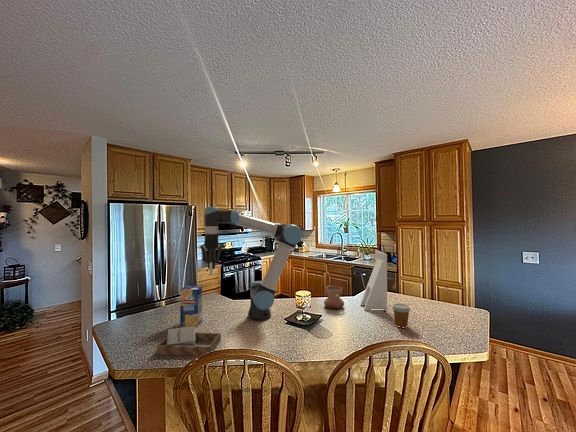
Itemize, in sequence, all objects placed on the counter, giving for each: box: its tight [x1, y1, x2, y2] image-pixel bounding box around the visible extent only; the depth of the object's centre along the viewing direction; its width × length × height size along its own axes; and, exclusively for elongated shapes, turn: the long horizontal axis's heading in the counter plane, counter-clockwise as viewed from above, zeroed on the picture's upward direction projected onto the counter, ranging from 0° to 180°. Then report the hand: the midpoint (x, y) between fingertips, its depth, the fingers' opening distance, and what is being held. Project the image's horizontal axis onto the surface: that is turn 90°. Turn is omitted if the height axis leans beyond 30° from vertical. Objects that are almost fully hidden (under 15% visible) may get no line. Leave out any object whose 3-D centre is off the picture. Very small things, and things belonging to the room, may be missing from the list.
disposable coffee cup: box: [392, 303, 411, 327], centre depth 151 cm, size 10×10×12 cm
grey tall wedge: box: [359, 249, 388, 312], centre depth 183 cm, size 20×14×40 cm
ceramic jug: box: [323, 285, 345, 310], centre depth 185 cm, size 18×14×14 cm
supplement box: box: [167, 326, 196, 346], centre depth 128 cm, size 7×7×13 cm
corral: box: [156, 331, 222, 357], centre depth 128 cm, size 26×15×4 cm, turn 87°
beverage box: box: [179, 285, 203, 327], centre depth 157 cm, size 7×11×22 cm, turn 86°
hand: (211, 274), depth 147 cm, fingers closed
